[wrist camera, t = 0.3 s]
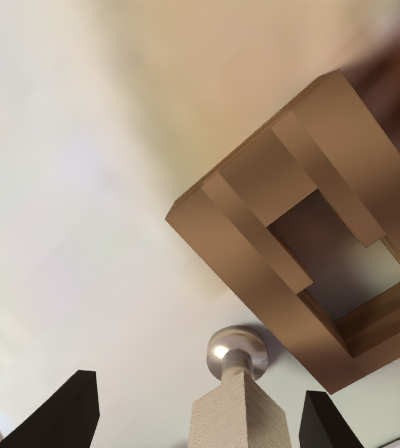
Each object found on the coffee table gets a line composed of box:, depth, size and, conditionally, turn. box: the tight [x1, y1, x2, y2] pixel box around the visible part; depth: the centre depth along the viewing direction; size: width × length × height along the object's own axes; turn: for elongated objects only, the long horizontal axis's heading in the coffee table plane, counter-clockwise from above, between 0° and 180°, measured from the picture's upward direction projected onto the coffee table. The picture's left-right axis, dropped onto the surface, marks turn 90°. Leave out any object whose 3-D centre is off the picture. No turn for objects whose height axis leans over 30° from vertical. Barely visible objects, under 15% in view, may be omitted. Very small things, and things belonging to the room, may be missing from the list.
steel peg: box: [188, 326, 292, 448], centre depth 18 cm, size 4×4×10 cm
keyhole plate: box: [165, 69, 400, 395], centre depth 18 cm, size 14×10×3 cm
